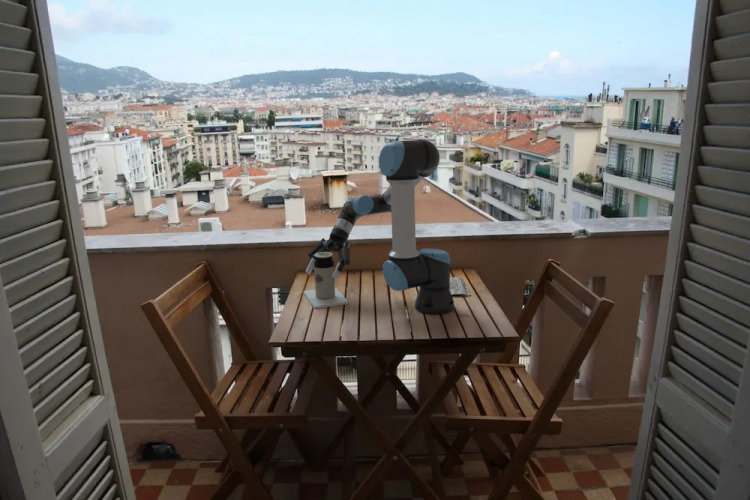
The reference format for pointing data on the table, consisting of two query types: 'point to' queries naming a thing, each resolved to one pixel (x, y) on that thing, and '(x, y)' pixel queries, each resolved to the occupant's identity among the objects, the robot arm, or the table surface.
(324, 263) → the travel mug
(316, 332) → the table surface
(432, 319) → the table surface
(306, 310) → the table surface
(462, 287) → the newspaper
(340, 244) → the robot arm
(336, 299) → the placemat
